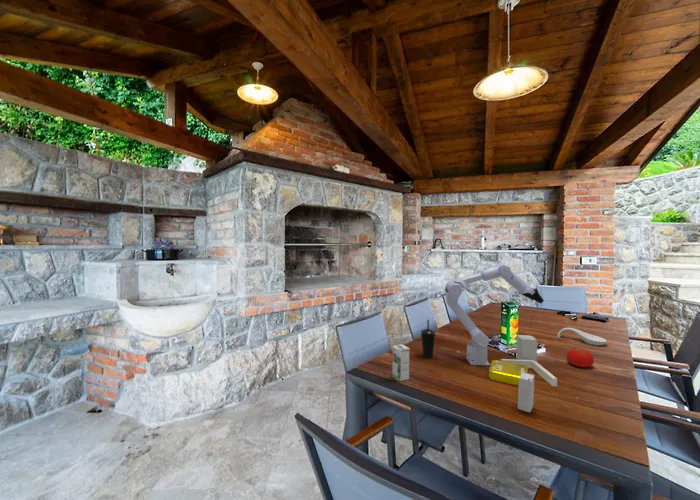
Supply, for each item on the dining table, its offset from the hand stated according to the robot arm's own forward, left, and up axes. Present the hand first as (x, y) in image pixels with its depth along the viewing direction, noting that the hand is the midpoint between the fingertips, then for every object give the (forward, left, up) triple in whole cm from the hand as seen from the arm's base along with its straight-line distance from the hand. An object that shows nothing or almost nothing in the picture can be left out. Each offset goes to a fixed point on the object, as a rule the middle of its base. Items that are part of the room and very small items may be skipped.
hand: (538, 300), depth 149 cm
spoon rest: (+43, +37, -33) cm, 66 cm away
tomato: (+20, +1, -33) cm, 38 cm away
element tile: (-20, -15, -33) cm, 41 cm away
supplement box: (-4, +3, -33) cm, 33 cm away
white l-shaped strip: (-11, -13, -32) cm, 37 cm away
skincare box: (-24, -41, -33) cm, 57 cm away
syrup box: (-69, -21, -32) cm, 79 cm away
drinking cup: (-53, +5, -32) cm, 62 cm away
